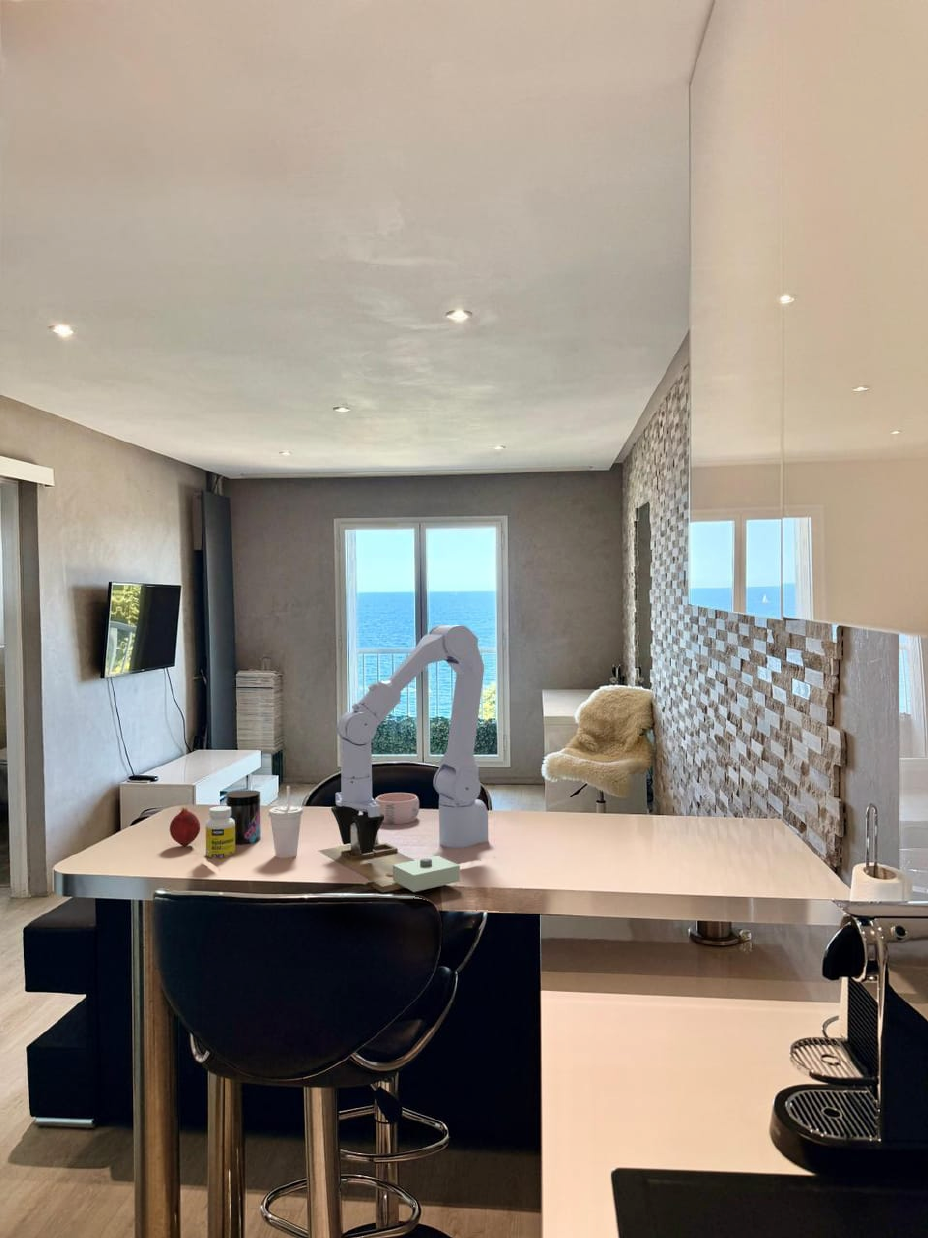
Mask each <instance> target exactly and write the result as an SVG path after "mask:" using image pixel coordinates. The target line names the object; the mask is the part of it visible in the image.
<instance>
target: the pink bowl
mask: <svg viewBox="0 0 928 1238" xmlns="http://www.w3.org/2000/svg"><path fill="white" fill-rule="evenodd" d="M374 800H375V802H376V804H378V805H380V814H383V815H384V820H383V822H382V823H381V824H386V825H403V824H409V823H412V822H415V821H416V820H417V817H418V814H419V812H420V800H419V797H418V796H417V795H416V794H414V793H407V792H391V793H390V792H389V793H384V794H380V795H377V797H375V799H374Z"/></svg>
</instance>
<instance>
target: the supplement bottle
mask: <svg viewBox="0 0 928 1238" xmlns="http://www.w3.org/2000/svg"><path fill="white" fill-rule="evenodd" d="M208 815H209V817H210V819H207V821H206V823H205V860H206V861H207V862H209V863H212V861H211V860H210V859H224V858H229V857H232V856H234V855H235V854H236V845H235V821H234V820H233V819H232V818H230V816H231V807H228V806H226V805H218V806H214V807H210V808H209V813H208ZM208 858H209V859H208Z"/></svg>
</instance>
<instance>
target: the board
mask: <svg viewBox="0 0 928 1238" xmlns="http://www.w3.org/2000/svg"><path fill="white" fill-rule="evenodd" d="M398 850H399V849H398V847H395V846H393V845H391V844H389V843H387V842H385V843H380V842H378V844H377V845H374V849H373V852H371V853H366V854H361V855H356V856H353V855H351V844H345V845H342V846H341V845H340V846H336V847H332V848H326V849H320V850H318V852H320V853H321V854H323V856H326V857H328V858H330V859H331V860H333V861H335V862H337V863H338V864H340V865H342V866H344V867H345V868H347V869H349V870H351V871H353V872H355V873H356V874H358V875H360V876H362V877H363V878H365V879H367V880H369V882H365V884H366V885H368V886H370V887H371V888H374V889H375V890H377V891H379V892H380V893H386V892H387V893H388V892H392V891H397V890H400V889H407V888H406V887H404V886H402V885H400V884H398V883H396V882H394V881H393V865H394V864H399V863H404V862H409V861H414V860H415V859H413V858H412V857H410V856H407V855H405V854H403V853H401V852H399V851H398Z"/></svg>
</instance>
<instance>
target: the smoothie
mask: <svg viewBox="0 0 928 1238" xmlns="http://www.w3.org/2000/svg"><path fill="white" fill-rule="evenodd" d="M290 787H291V786H289V785H288V786H286V805H281V806H274V807H272V808H270V809H268V817H269V818H270V823H271V830H272V831H271V832H272V836H273V837H272V840H273V845H274V853H275V857H276V858H278V859H279V858H280V859H290V858H294V857H296V856H297V855H298V849H299V839H300V829H301V821H302V816H303V814H304V811H303V807H302V806H298V805H291V788H290Z"/></svg>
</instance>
